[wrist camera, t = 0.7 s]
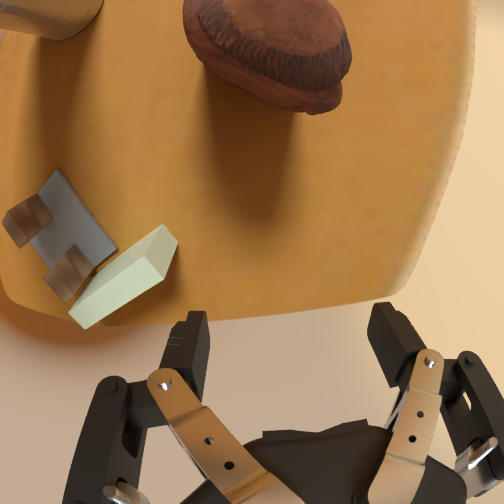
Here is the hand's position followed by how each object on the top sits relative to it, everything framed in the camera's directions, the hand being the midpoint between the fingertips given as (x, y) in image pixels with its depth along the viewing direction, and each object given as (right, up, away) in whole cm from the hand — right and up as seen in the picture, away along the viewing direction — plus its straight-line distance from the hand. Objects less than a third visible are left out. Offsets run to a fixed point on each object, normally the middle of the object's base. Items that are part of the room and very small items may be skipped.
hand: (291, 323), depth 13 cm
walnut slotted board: (-27, +6, +18) cm, 33 cm away
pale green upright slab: (-17, +2, +21) cm, 27 cm away
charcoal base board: (-27, +6, +18) cm, 33 cm away
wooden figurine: (-2, +22, +11) cm, 25 cm away
